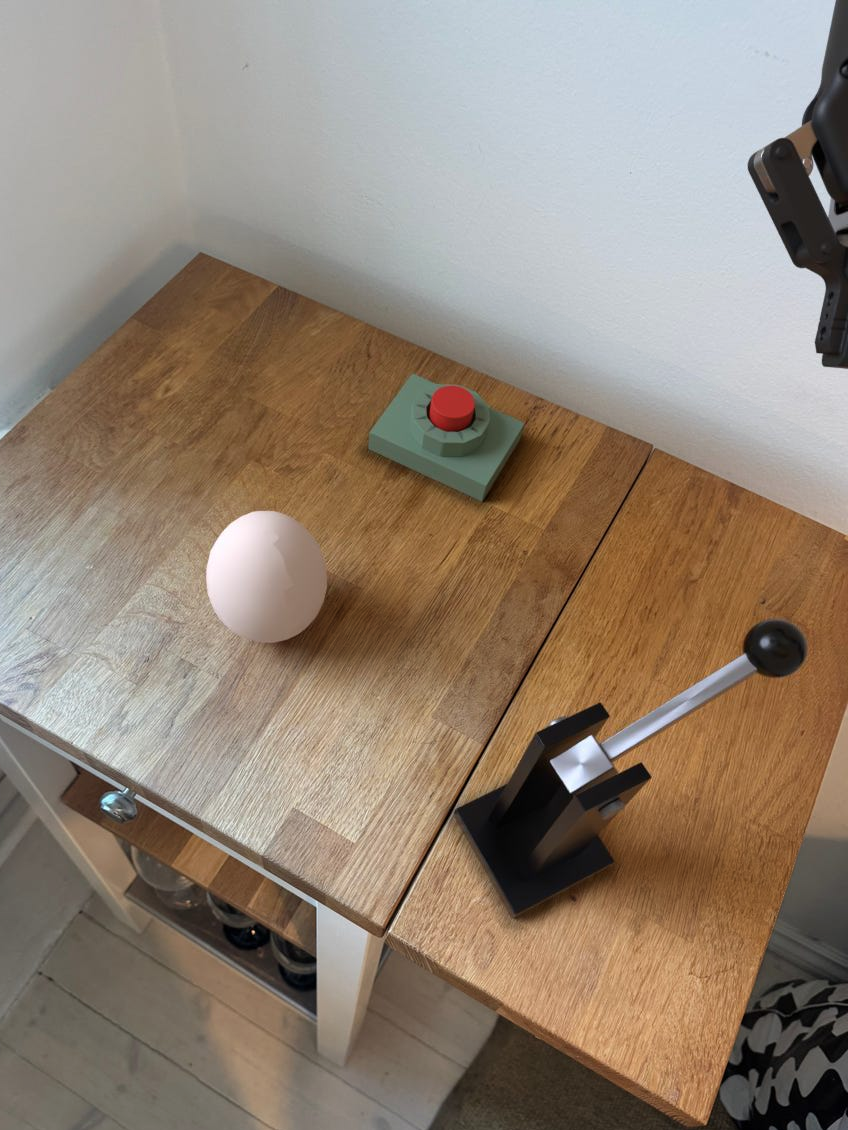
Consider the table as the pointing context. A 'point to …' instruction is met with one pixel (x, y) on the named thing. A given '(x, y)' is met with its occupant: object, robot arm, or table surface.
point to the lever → (685, 703)
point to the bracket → (546, 819)
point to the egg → (266, 577)
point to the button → (452, 408)
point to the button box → (445, 440)
